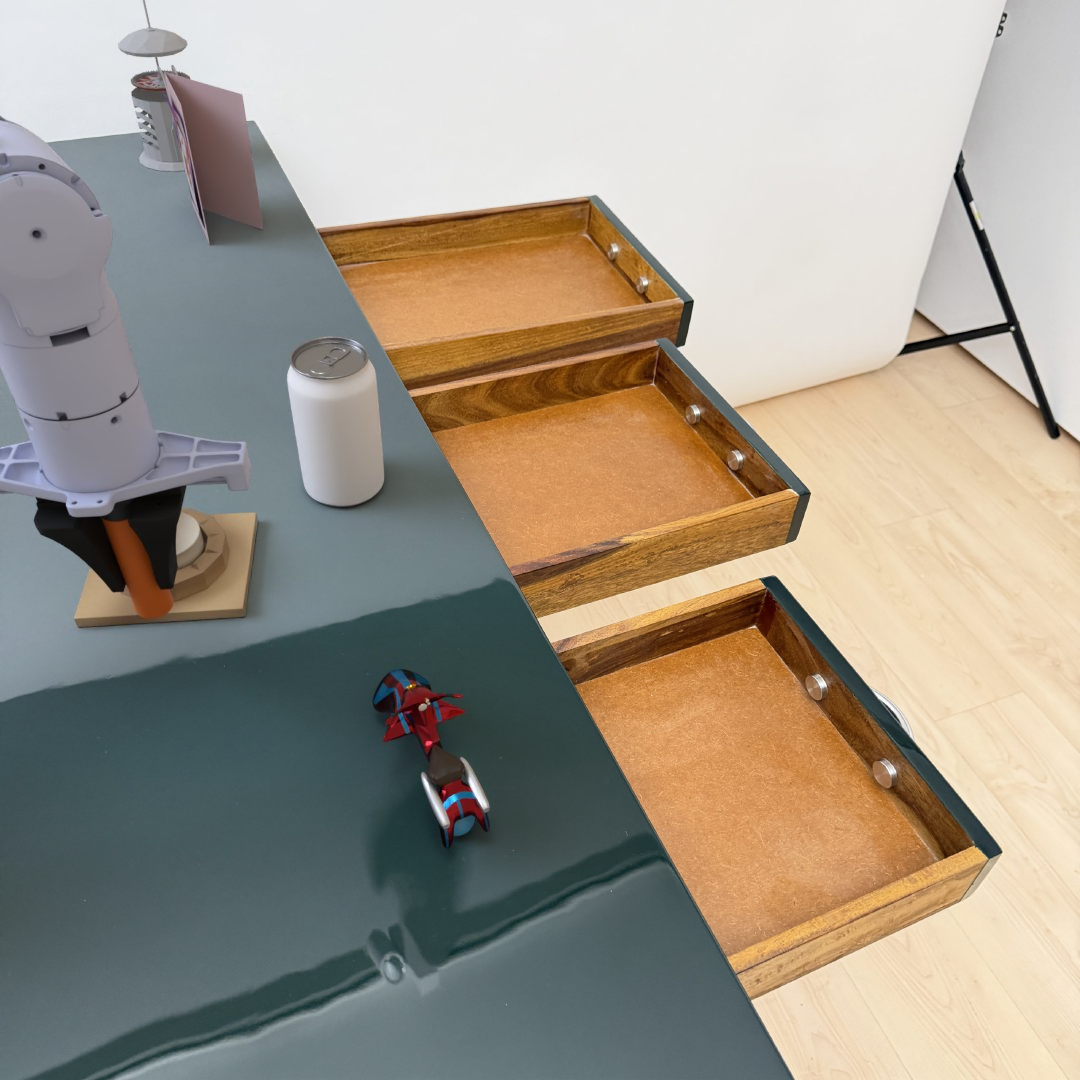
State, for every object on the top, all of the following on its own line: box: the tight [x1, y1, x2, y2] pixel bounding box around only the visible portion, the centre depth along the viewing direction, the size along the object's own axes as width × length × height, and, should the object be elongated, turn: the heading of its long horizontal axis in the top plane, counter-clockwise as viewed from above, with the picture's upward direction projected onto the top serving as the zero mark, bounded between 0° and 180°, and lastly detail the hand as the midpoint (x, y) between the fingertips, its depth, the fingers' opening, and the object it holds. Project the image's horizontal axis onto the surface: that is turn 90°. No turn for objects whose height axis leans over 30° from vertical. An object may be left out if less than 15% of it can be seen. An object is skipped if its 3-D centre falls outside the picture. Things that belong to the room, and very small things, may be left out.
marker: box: [100, 498, 174, 619], centre depth 52 cm, size 2×2×9 cm
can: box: [286, 336, 385, 508], centre depth 69 cm, size 6×6×12 cm
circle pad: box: [176, 512, 204, 570], centre depth 63 cm, size 5×5×2 cm
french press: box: [117, 0, 191, 173], centre depth 111 cm, size 10×12×25 cm
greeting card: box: [162, 72, 265, 246], centre depth 101 cm, size 11×7×15 cm, turn 25°
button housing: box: [73, 508, 259, 628], centre depth 64 cm, size 11×10×2 cm
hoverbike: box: [371, 668, 491, 849], centre depth 52 cm, size 5×12×6 cm, turn 26°
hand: (144, 578), depth 54 cm, fingers closed on marker, 2 cm apart
